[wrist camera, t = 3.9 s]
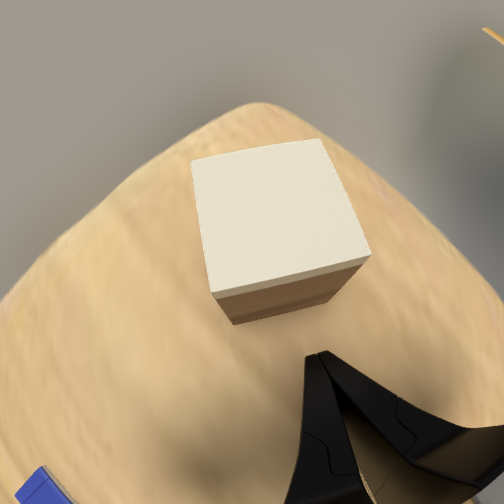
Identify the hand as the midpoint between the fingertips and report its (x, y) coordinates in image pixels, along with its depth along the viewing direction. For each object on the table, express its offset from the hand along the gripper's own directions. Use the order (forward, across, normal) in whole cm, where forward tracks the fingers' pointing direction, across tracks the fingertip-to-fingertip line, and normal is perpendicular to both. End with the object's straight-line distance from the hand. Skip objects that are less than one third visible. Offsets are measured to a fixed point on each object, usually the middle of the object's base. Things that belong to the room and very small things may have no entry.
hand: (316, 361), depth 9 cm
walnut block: (+10, 0, +1) cm, 10 cm away
